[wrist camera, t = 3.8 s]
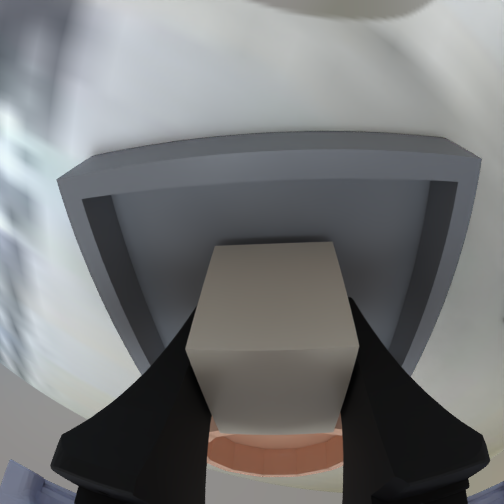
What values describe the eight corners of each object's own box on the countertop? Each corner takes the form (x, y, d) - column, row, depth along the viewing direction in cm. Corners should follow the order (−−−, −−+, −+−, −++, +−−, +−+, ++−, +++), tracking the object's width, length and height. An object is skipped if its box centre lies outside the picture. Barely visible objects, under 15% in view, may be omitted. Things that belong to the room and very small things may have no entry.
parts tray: (445, 137, 9) (481, 158, 7) (392, 358, 15) (402, 392, 13) (92, 156, 10) (56, 179, 8) (165, 362, 17) (155, 396, 15)
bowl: (376, 371, 16) (386, 416, 14) (346, 442, 22) (348, 472, 20) (181, 375, 17) (170, 419, 15) (215, 443, 24) (211, 473, 21)
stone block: (332, 241, 10) (359, 345, 6) (323, 339, 13) (333, 432, 9) (214, 245, 11) (184, 349, 7) (232, 341, 13) (219, 433, 10)
